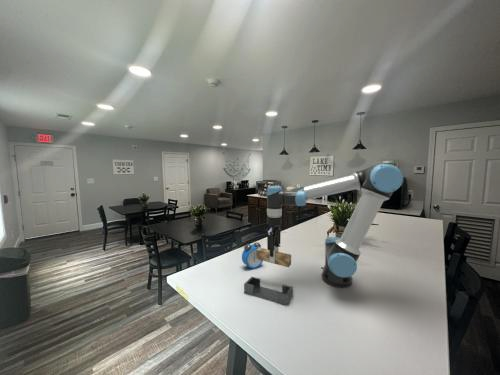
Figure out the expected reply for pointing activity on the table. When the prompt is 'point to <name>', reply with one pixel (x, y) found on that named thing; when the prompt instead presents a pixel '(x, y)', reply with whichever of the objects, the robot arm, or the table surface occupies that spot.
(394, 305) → the table surface
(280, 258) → the long wooden block
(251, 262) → the alarm clock
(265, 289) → the gray cradle tray
